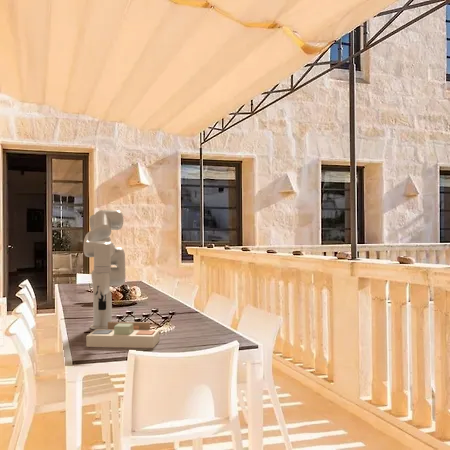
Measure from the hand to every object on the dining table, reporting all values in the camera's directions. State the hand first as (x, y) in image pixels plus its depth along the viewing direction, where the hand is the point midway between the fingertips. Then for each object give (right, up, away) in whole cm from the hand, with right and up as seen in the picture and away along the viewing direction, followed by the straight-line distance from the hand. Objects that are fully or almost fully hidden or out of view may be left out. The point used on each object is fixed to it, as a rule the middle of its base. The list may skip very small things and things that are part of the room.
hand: (102, 309), depth 232 cm
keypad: (+10, -15, 0) cm, 18 cm away
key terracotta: (+20, -14, -2) cm, 25 cm away
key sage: (+10, -11, -1) cm, 15 cm away
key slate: (0, -14, -1) cm, 14 cm away
